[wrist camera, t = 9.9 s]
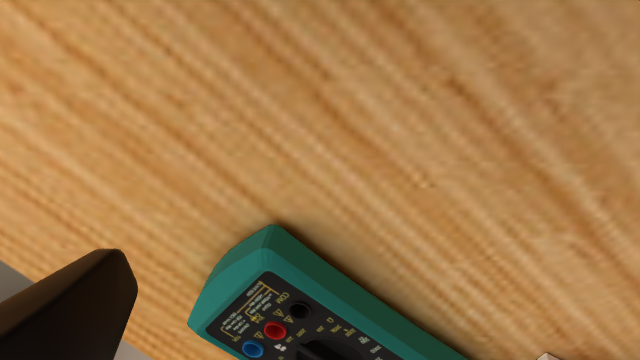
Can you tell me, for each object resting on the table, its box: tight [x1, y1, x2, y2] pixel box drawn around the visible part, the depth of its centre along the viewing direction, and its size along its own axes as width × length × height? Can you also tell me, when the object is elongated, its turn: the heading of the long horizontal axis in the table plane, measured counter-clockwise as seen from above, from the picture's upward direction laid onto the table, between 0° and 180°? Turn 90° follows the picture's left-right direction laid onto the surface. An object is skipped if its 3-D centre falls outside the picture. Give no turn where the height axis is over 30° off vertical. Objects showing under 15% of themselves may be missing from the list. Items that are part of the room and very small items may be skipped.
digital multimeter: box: [187, 225, 468, 360], centre depth 23 cm, size 7×15×3 cm, turn 52°
